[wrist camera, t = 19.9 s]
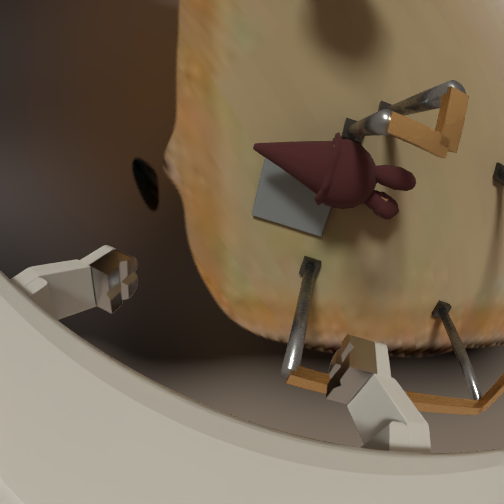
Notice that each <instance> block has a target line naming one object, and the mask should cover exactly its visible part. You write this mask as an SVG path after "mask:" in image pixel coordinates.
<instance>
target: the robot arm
mask: <svg viewBox="0 0 504 504" xmlns="http://www.w3.org/2000/svg"><path fill="white" fill-rule="evenodd" d="M136 269H137V260H136V259H135V258H134V257H132V256H130V255H128V254H125V253H124V252H121V251H119V250H117V249H115V248H112V247H110V246H106V245H105V246H103V247H101V248H100V249H98V250H96V251H94V252H93V253H91V254H90V255H88V256H86V257H85V258H83V259H82V260H80V261H79V260H71V261H65V262H58V263H52V264H46V265H40V266H34V267H29V268H27V269H26V270H24V271H23V272H21V273H20V274H18V275H16V276H15V277H13V278H12V279H11V280H9V279H8V278H7V277H6V276H5V275H4V274H3V273H2V272H1V271H0V504H504V450H502V449H492V450H483V451H474V452H460V453H431V446H430V435H429V426H428V424H427V422H426V421H425V419H424V418H423V416H422V415H421V414H420V413H419V411H418V410H417V408H416V407H415V405H414V404H413V403H412V401H411V400H410V399H409V397H408V396H407V395H406V393H405V392H404V391H403V389H402V388H401V386H400V385H399V384H398V382H397V381H396V380H395V379H394V378H391V372H390V365H389V357H388V350H387V346H386V344H383V343H379V342H375V341H370V340H366V339H362V338H359V337H355V336H352V335H349V334H347V335H346V337H345V338H344V340H343V341H342V348H341V349H339V350H337V351H336V353H335V355H334V357H333V359H332V362H331V364H330V368H329V377H330V378H331V380H330V381H329V383H328V384H327V392H326V399H328V400H332V401H335V402H339V403H343V404H346V405H347V407H348V409H349V411H350V414H351V416H352V418H353V420H354V423H355V425H356V427H357V429H358V432H359V434H360V436H361V439H362V441H363V443H364V445H363V446H362V447H360V448H359V447H352V446H346V445H340V444H334V443H330V442H325V441H320V440H315V439H310V438H306V437H302V436H298V435H294V434H290V433H286V432H283V431H279V430H276V429H272V428H269V427H265V426H263V425H259V424H256V423H253V422H250V421H247V420H244V419H241V418H238V417H235V416H232V415H230V414H227V413H225V412H222V411H219V410H217V409H214V408H212V407H209V406H207V405H204V404H202V403H200V402H197V401H195V400H193V399H190V398H188V397H186V396H184V395H181V394H179V393H177V392H175V391H173V390H171V389H169V388H167V387H165V386H163V385H161V384H159V383H157V382H155V381H153V380H151V379H149V378H147V377H145V376H143V375H142V374H140V373H138V372H136V371H134V370H132V369H131V368H129V367H127V366H125V365H124V364H122V363H120V362H119V361H117V360H115V359H114V358H112V357H110V356H109V355H107V354H105V353H104V352H102V351H100V350H99V349H98V348H96V347H94V346H93V345H91V344H90V343H88V342H87V341H85V340H84V339H83V338H81V337H80V336H78V335H77V334H75V333H74V332H72V331H71V330H70V329H68V328H67V327H66V326H64V325H63V324H61V323H60V322H59V321H58V319H61V318H64V317H67V316H70V315H73V314H75V313H78V312H81V311H84V310H87V309H90V308H93V307H95V306H96V305H97V306H98V307H100V308H102V309H104V310H106V311H108V312H110V313H113V312H114V311H116V309H118V308H119V307H120V306H121V305H122V300H124V299H129V298H130V297H131V296H132V295H133V294H134V292H135V290H136V288H137V283H138V277H137V275H136V273H135V270H136Z"/></svg>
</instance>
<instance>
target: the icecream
mask: <svg viewBox="0 0 504 504" xmlns="http://www.w3.org/2000/svg"><path fill="white" fill-rule="evenodd" d="M253 149H254V150H255V151H257V152H258V153H259V154H261V155H262V156H264V157H265V158H267V159H268V160H270V161H271V162H273V163H274V164H276V165H277V166H278V167H280V168H281V169H283V170H284V171H286V172H287V173H288V174H290V175H291V176H293V177H294V178H295V179H297V180H298V181H299V182H301V183H302V184H304V185H305V186H306V187H308V188H309V189H310V190H312V191H313V192H314V193H316V194H317V195H316V196H315V197H314V199H315V201H316V203H317V205H320V204H321V203H323V204H325V205H326V206H331V207H335V208H340V209H344V208H353V207H355V206H358V205H360V204H363V203H365V204H366V206H367V207H369V208H370V209H372V210H373V212H374V213H375V214H376V215H377V216H379V217H381V218H384V219H391V218H393V217H394V216H396V215H397V214H398V212H399V209H398V204H397V202H396V201H395V200H394V199H393V198H392V197H390V196H389V195H388V194H386V193H385V192H379V191H377V190H374V188H375V185H376V183H377V182H378V183H380V184H381V185H384V186H386V187H389V188H391V189H394V190H403V191H408V190H411V189H413V188H414V186H415V184H416V180H415V177H414V176H413V174H412V173H411V172H409V171H407V170H405V169H403V168H401V167H396V166H389V165H381V166H375V163H374V161H373V159H372V157H371V155H370V154H369V153H368V152H367V151H366V150H365V149H364V148H363V147H362V146H361V145H359V144H357V143H356V142H354V141H352V140H350V139H342V138H341V136H340V133H339V132H338V133H337V134H336V135H335V138H333V141H305V142H276V143H257V144H254V147H253Z"/></svg>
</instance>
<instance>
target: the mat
mask: <svg viewBox="0 0 504 504" xmlns="http://www.w3.org/2000/svg"><path fill="white" fill-rule="evenodd" d="M316 195H317V194H316V193H314V192H313V191H312V190H310V189H309V188H308V187H306V186H305V185H304V184H302V183H301V182H299V181H298V180H297V179H295V178H294V177H293V176H291V175H290V174H288V173H287V172H286V171H284V170H283V169H281V168H280V167H278V166H277V165H276V164H274V163H273V162H271V161H270V160H268V159H267V158H265V160H264V164H263V168H262V172H261V177H260V181H259V185H258V190H257V194H256V198H255V202H254V207H253V211H252V215H253V216H256V217H260V218H263V219H266V220H269V221H273V222H276V223H279V224H282V225H286V226H289V227H292V228H295V229H298V230H301V231H305V232H308V233H311V234H314V235H317V236H320V237H321V235H322V232H323V229H324V226H325V223H326V220H327V217H328V214H329V211H330V208H331V206H326V205H325V204H323V203H321V204H320V205H317V203H316V201H315V199H314V197H315V196H316Z"/></svg>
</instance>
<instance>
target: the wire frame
mask: <svg viewBox="0 0 504 504" xmlns="http://www.w3.org/2000/svg"><path fill="white" fill-rule="evenodd" d="M468 99H469V96H468V95H466V92H465V89H464V87H463V86H462V85H461V84H460V83H459V82H457V81H454V80H451V81H448V82H446V83H443V84H441V85H438V86H436V87H433V88H431V89H428V90H426V91H423V92H421V93H419V94H416V95H414V96H412V97H409V98H407V99H405V100H403V101H400V102H398V103H396V104H394V105H391V104H388V103H386V102H383V101H381V102H380V105H379V109H378V112H376V113H374V114H372V115H370V116H368V117H366V118H364V119H362V120H360V121H355V120H352V119H349V118H346V121H345V124H344V128H343V132H342V137H345V138H348V139H351V140H354V141H357V142H360V143H361V140H362V136H371V135H391V136H393V137H395V138H398V139H400V140H403V141H405V142H407V143H410V144H412V145H414V146H416V147H419V148H421V149H423V150H425V151H427V152H429V153H431V154H433V155H435V156H437V157H441V158H446V154H447V151H449V152H454V153H457V150H458V146H459V142H460V138H461V134H462V129H463V125H464V120H465V115H466V110H467V105H468ZM437 108H440V111H439V115H438V120H437V124H436V128H435V130H433V129H431V128H429V127H427V126H425V125H423V124H421V123H419V122H417V121H414V120H412V119H410V118H408V117H405V115H409V114H414V113H418V112H423V111H427V110H432V109H437ZM493 178H494V179H495V180H497V181H498V182H500V183H501V184H503V185H504V166H503V165H502V164H500V163H497V164H496V168H495V171H494V175H493ZM320 265H321V261H319V260H316V259H313V258H310V257H307V256H305V257H304V259H303V262H302V265H301V268H300V271H299V274H302V275H303V279H302V283H301V288H300V293H299V298H298V302H297V307H296V311H295V316H294V320H293V324H292V329H291V333H290V337H289V341H288V345H287V349H286V353H285V357H284V361H283V365H282V370H281V375H282V376H283V377H284V378H286V379H287V381H286V383H287V384H290V385H294V386H298V387H301V388H305V389H308V390H312V391H317V392H320V393H325V394H326V392H327V384H328V383H329V381H330V380H331V378H330V377H329V374H326V373H322V372H318V371H315V370H311V369H307V368H304V367H301V366H300V362H301V357H302V351H303V346H304V340H305V334H306V328H307V322H308V316H309V309H310V302H311V296H312V288H313V281H314V279H315V278H316V276H317V273H318V270H319V268H320ZM450 309H451V306H450V304H448V303H445V302H442V301H439V302H438V303H437V305H436V307H435V308H434V310H433V312H432V314H433V316H434V317H437V318H441V320H442V322H443V325H444V327H445V329H446V332H447V334H448V336H449V339H450V341H451V344H452V346H453V349H454V351H455V354H456V356H457V359H458V362H459V364H460V367H461V370H462V373H463V375H464V378H465V382H466V385H467V388H468V391H469V394H470V397H471V400H470V399H460V398H450V397H442V396H435V395H427V394H421V393H414V392H408V391H404V392H405V393H406V395H407V396H408V397H409V399H410V400H411V401H412V403H413V404H414V405H415V407H416V408H417V410H418V411H425V412H436V413H447V414H463V415H478V414H479V413H480V412H484V411H485V410H486V409H487V408H488V407H489V406H490V405H491V404H492V403H493V402H494V401H495V400H496V399H497V398H498V397H499V396H500V395H501V394H502V393H503V392H504V374H503V375H502V376H501V377H500V378H499V379H498V381H497V382H496V383H495V384H494V385H493V386H492V387H491V388H490V389H489V390H488V392H487V393H486V394H485V395H484V396H482V393H481V390H480V387H479V385H478V382H477V379H476V376H475V373H474V371H473V368H472V366H471V363H470V361H469V358H468V356H467V354H466V351H465V349H464V346H463V344H462V342H461V339H460V337H459V335H458V333H457V331H456V329H455V326H454V324H453V322H452V320H451V318H450V316H449V314H448V312H449V311H450Z"/></svg>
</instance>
